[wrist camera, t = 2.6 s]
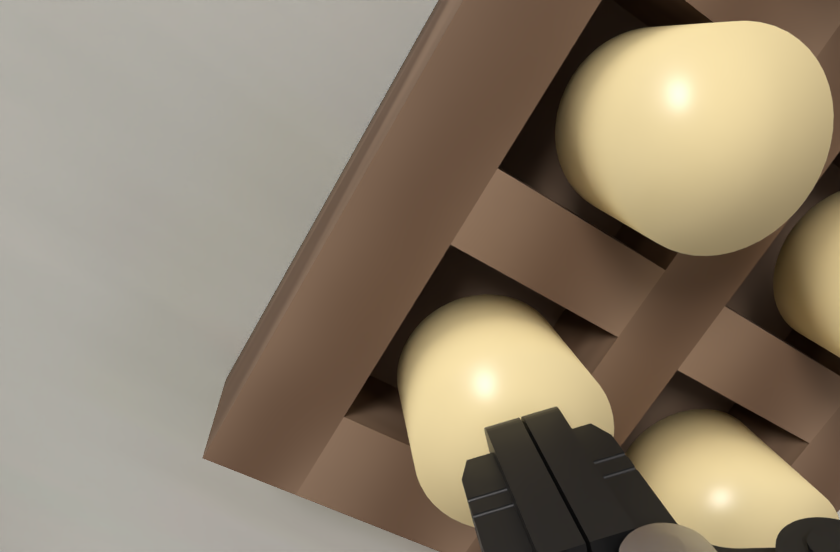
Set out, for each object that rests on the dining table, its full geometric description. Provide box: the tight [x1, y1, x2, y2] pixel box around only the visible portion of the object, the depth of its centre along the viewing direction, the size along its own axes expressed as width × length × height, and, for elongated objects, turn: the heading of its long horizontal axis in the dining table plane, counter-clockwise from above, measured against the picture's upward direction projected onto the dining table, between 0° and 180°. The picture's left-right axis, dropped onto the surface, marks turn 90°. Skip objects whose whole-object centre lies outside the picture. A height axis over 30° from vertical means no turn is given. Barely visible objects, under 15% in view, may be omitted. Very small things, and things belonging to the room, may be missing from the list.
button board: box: [203, 0, 840, 552], centre depth 18 cm, size 17×17×4 cm
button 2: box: [625, 409, 839, 548], centre depth 17 cm, size 4×4×3 cm
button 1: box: [397, 294, 614, 527], centre depth 15 cm, size 4×4×3 cm
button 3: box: [555, 21, 834, 256], centre depth 13 cm, size 4×4×3 cm
